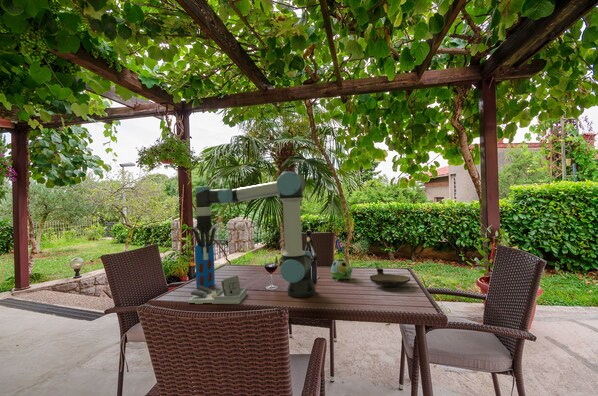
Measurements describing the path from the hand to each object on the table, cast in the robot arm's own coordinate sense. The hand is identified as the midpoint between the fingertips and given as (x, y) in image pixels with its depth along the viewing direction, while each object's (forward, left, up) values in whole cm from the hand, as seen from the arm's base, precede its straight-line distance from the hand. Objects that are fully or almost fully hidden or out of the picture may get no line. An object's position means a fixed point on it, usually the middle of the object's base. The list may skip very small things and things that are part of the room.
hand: (205, 259), depth 159 cm
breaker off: (-1, -1, -18) cm, 18 cm away
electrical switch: (-14, +2, -19) cm, 23 cm away
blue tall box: (+10, -22, -21) cm, 32 cm away
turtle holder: (-74, -34, -21) cm, 84 cm away
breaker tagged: (-1, +5, -18) cm, 18 cm away
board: (-7, +2, -21) cm, 22 cm away
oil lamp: (-101, -22, -21) cm, 105 cm away
